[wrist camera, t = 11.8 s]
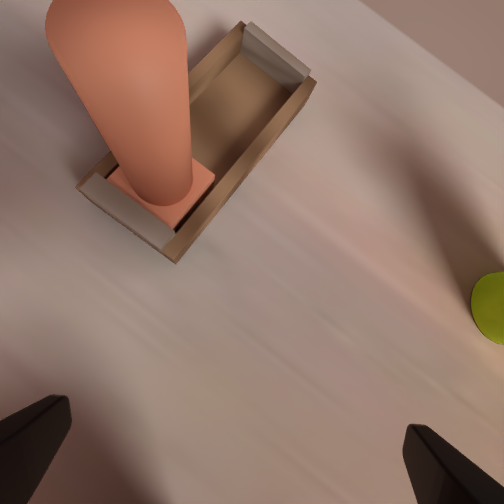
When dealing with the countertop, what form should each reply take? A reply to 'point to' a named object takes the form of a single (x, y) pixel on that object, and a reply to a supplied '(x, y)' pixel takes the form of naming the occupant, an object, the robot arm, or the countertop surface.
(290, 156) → the countertop surface
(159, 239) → the track
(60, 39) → the slider knob
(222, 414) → the countertop surface
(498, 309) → the soap dispenser
